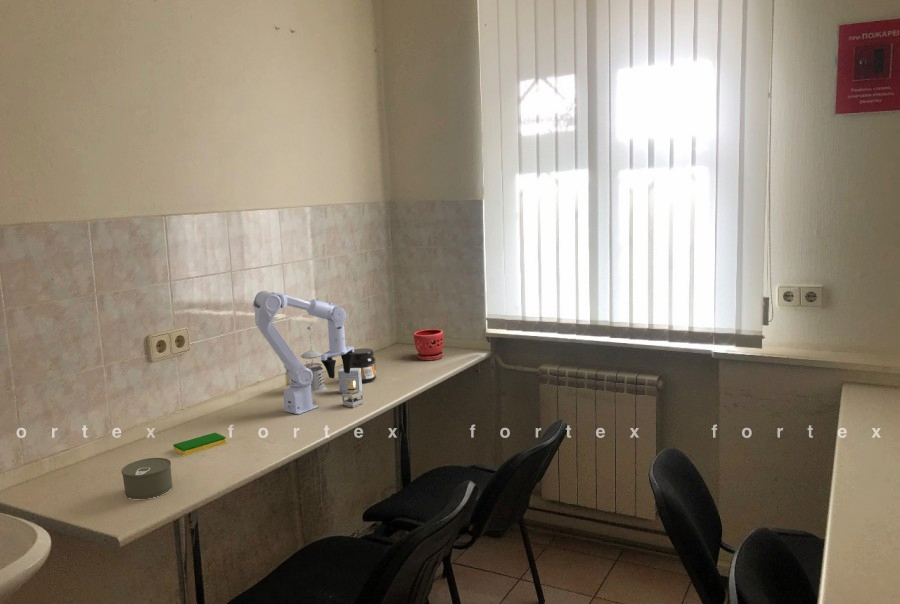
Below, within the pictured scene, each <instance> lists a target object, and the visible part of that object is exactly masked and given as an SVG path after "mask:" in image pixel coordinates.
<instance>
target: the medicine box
mask: <svg viewBox="0 0 900 604" xmlns="http://www.w3.org/2000/svg"><path fill="white" fill-rule="evenodd" d="M337 373H338V374H337V376H338V377H337V379H338V389H339V394H342V393H345V392H347V391H348V389H347V388H348V387H347V381H349V380H356V391H361V392H362V390H363V383H362V380H361V368H350V373H344V368H340V369H339V370H338V372H337Z"/></svg>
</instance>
